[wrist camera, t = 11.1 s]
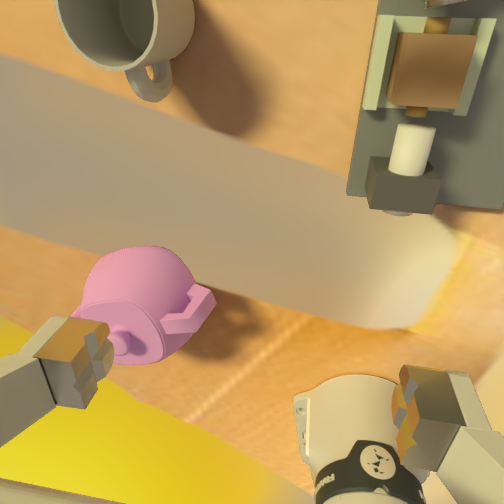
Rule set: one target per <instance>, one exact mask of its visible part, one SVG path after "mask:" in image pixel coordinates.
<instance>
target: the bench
mask: <svg viewBox="0 0 504 504" xmlns="http://www.w3.org/2000/svg"><path fill="white" fill-rule="evenodd" d="M427 17H451V22H450V26H449V29H448V33H447V34H460V35H476V36H478V38H477V41H476V45H475V48H474V52H473V55H472V58H471V62H470V65H469V68H468V72H467V75H466V78H465V82H464V85H463V89H462V92H461V95H460V99H459V102H458V105H457V109H450V108H433V107H428V110H427V114H426V117H411V116H407V115H405V110H406V106H401V105H393V104H392V103H391V101H390V100H389V99H388V98H387V97H386V91H387V86H388V81H389V76H390V71H391V66H392V61H393V56H394V51H395V46H396V41H397V36H398V32H410V33H423V32H424V28H425V23H426V19H427ZM346 194H347V195H348V196H359V197H367V199H368V204H369V208H370V209H379V210H382V211H384V212H385V213H388V214H391V215H395V216H409V215H411V214H412V213H422V214H431V215H432V213H433V210H434V207H435V204H445V205H456V206H467V207H478V208H489V209H500V210H501V208H502V206H503V203H504V0H467V1H462V2H457V3H452V4H447V5H442V6H437V7H432V8H426V9H425V0H379V2H378V8H377V14H376V19H375V25H374V31H373V37H372V43H371V48H370V54H369V60H368V66H367V72H366V78H365V83H364V89H363V95H362V101H361V107H360V113H359V118H358V124H357V130H356V136H355V142H354V148H353V153H352V159H351V165H350V171H349V177H348V183H347V188H346Z"/></svg>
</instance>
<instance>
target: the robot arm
mask: <svg viewBox="0 0 504 504" xmlns="http://www.w3.org/2000/svg"><path fill="white" fill-rule="evenodd" d="M109 334H110V329H109V325H108V324H107V323H105V322H101V321H95V320H89V319H83V318H77V317H69V316H63V315H54V316H52V317H50V318H49V320H48V321H47V322H46V323H45V324H44V325H43V326H42V327H41V328H40V329H39V330H38V331H37V332H36V333H35V334H34V335H33V336H32V338H30V340H29V341H28V342H27V343H26V344H25V345H24V346H23V347H22V348H21V349H20V350H19V351H18V352H17V353H16V354H15V355H13V354H9V355H7V356H5V357H3V358H0V447H1V446H3V445H4V444H6V443H7V442H8V441H10V440H11V439H13V438H14V437H15V436H17V435H18V434H20V433H21V432H22V431H24V430H25V429H26V428H28V427H29V426H31V425H32V424H33V423H35V422H36V421H37V420H39V419H40V418H42V417H43V416H44V415H46V414H47V413H48V412H50V411H51V410H52V409H54V408H55V407H56V405H57V406H64V407H72V408H78V409H86V407H87V406H88V404H89V403H90V401H91V399H92V398H93V396H94V395H95V393H96V392H97V390H98V387H97V382H98V381H99V380H101V379H103V378H104V377H106V376H107V374H108V372H109V370H110V369H111V366H112V363H113V360H114V347H113V344H112V342H111V341H110V340H109V339H108V338H107V337H108V335H109ZM399 378H400V384H398V385H397V384H395V383H393V382H391V381H389V380H386V379H384V378H380V377H376V376H371V375H362V374H353V375H344V376H339V377H335V378H332V379H330V380H328V381H325V382H324V383H322V384H320V385H319V386H318V387H316V388H315V389H313V390H311V391H307V392H303V393H300V394H297V395H295V396H294V397H293V408H294V414H295V420H296V426H297V433H298V439H299V445H300V451H301V457H302V460H303V461H304V462H305V463H307V464H309V465H310V470H311V475H312V480H313V485H314V487H315V492H314V502H315V504H426V500H425V498H424V495H423V491H422V486H421V484H422V483H424V482H425V480H426V478H427V477H429V474H430V471H434V472H437V475H438V477H439V478H440V480H441V481H442V482H443V484H444V485H445V487H446V488H447V489H448V491H449V492H450V494H451V495H452V496H453V498H454V499H455V501H456V502H457V503H458V504H504V436H503V435H502V434H501V433H500V432H495V431H492V429H491V426H490V424H489V421H488V419H487V417H486V414H485V412H484V410H483V407H482V405H481V402H480V400H479V398H478V395H477V393H476V391H475V388H474V386H473V383H472V381H471V379H470V376H469V375H468V374H467V373H463V372H456V371H448V370H440V369H433V368H425V367H418V366H410V365H403V366H402V368H401V370H400V373H399ZM0 504H124V503H119V502H115V501H110V500H105V499H100V498H95V497H91V496H85V495H81V494H76V493H71V492H66V491H61V490H56V489H52V488H47V487H42V486H37V485H32V484H27V483H22V482H17V481H13V480H7V479H2V478H0Z"/></svg>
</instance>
